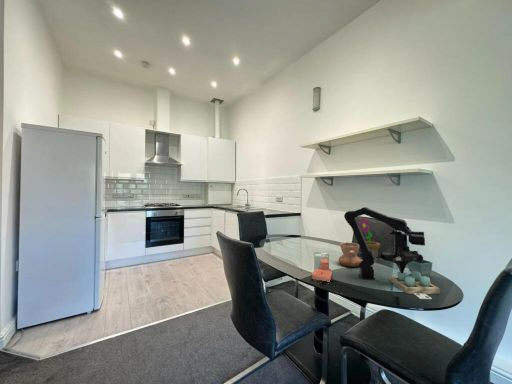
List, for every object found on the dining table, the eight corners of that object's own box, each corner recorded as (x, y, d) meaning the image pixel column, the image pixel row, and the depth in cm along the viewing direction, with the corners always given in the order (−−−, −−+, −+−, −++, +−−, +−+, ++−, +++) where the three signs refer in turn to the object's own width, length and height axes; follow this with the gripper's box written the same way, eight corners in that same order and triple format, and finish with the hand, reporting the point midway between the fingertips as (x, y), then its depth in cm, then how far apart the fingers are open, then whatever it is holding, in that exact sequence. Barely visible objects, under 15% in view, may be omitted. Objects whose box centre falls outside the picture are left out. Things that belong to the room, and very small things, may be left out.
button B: (408, 287, 108) (407, 278, 108) (403, 283, 112) (403, 275, 112) (416, 287, 108) (416, 279, 108) (411, 283, 112) (411, 275, 112)
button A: (400, 281, 115) (400, 274, 115) (396, 279, 119) (395, 271, 119) (408, 282, 115) (408, 274, 115) (404, 279, 119) (403, 271, 119)
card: (420, 298, 101) (420, 297, 101) (413, 294, 106) (413, 293, 106) (432, 299, 100) (432, 298, 100) (424, 294, 105) (424, 293, 105)
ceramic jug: (365, 269, 140) (364, 247, 141) (340, 268, 143) (340, 246, 144) (358, 261, 158) (357, 241, 158) (336, 260, 161) (336, 241, 161)
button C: (414, 281, 114) (414, 273, 114) (410, 278, 118) (409, 271, 118) (422, 281, 114) (422, 273, 114) (418, 278, 118) (417, 271, 118)
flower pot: (421, 280, 121) (420, 263, 121) (406, 274, 130) (406, 259, 130) (433, 278, 124) (433, 262, 124) (418, 273, 132) (417, 258, 132)
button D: (423, 287, 107) (423, 279, 108) (418, 284, 111) (418, 276, 111) (432, 287, 107) (432, 279, 107) (426, 284, 111) (426, 276, 111)
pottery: (329, 283, 120) (329, 265, 121) (312, 281, 125) (311, 263, 125) (333, 273, 137) (333, 257, 137) (318, 271, 141) (317, 255, 141)
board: (406, 293, 106) (406, 288, 106) (390, 281, 121) (390, 276, 121) (440, 293, 105) (439, 288, 105) (419, 281, 120) (419, 276, 120)
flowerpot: (355, 254, 174) (354, 216, 175) (371, 253, 177) (370, 215, 177) (368, 259, 160) (366, 218, 161) (385, 258, 163) (383, 217, 163)
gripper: (389, 246, 110) (390, 278, 110) (430, 246, 108) (431, 278, 108) (379, 242, 121) (380, 270, 121) (415, 241, 119) (416, 271, 119)
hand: (401, 272), depth 117 cm, fingers closed, pressing on button A
